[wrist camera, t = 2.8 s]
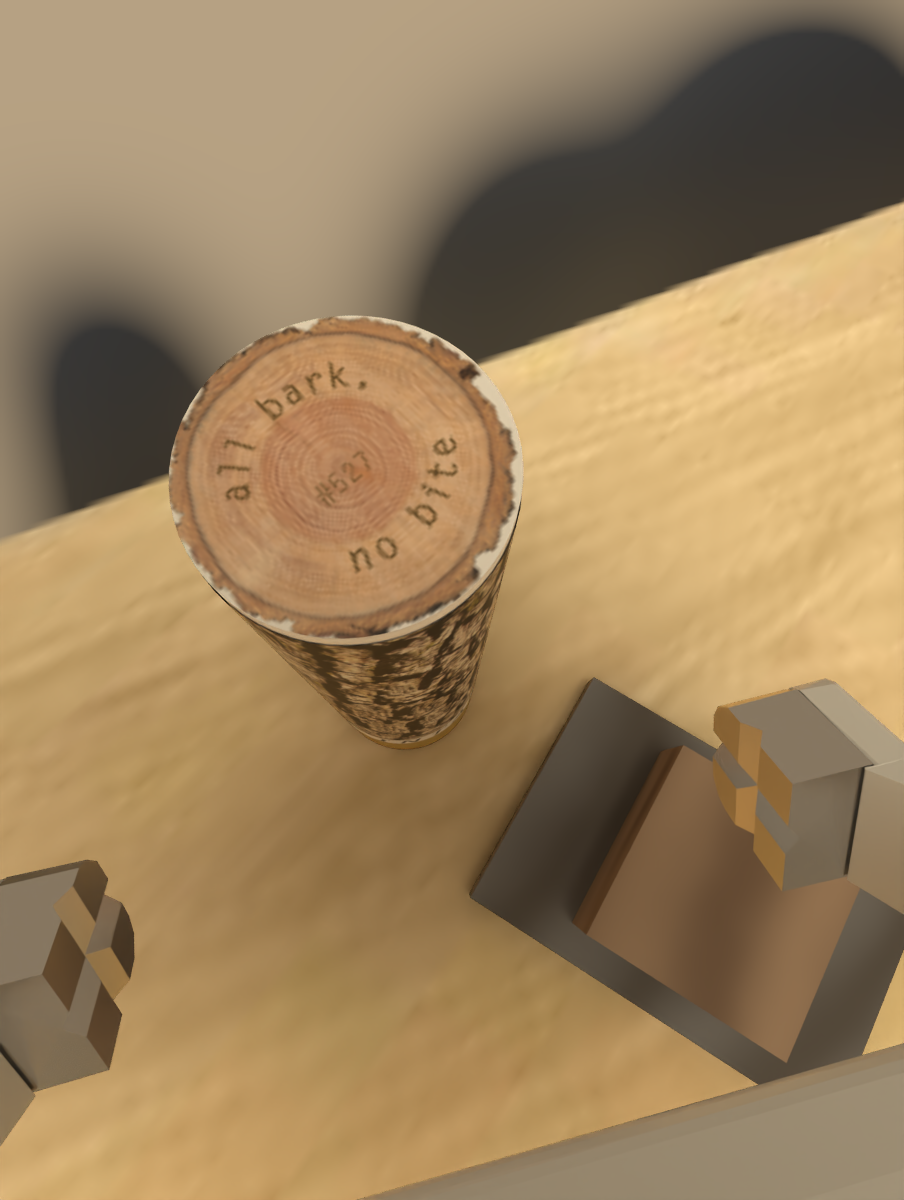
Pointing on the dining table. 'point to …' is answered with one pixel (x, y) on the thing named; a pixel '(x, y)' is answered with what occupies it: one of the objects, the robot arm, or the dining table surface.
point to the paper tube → (356, 512)
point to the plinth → (577, 849)
